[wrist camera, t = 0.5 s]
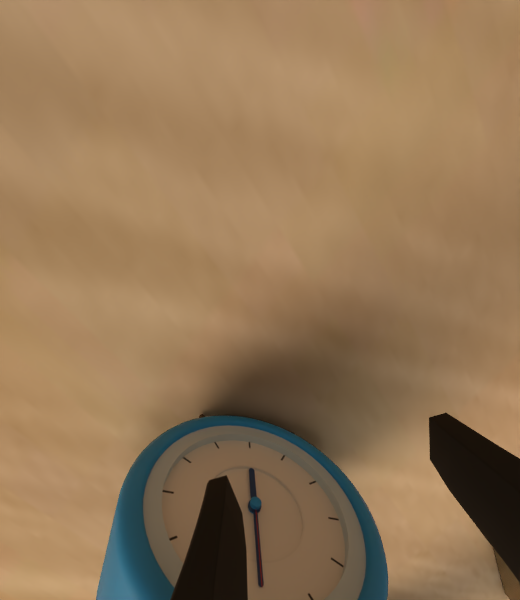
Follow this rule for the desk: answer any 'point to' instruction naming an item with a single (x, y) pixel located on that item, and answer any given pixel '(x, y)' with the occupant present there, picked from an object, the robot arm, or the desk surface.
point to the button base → (508, 579)
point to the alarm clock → (244, 515)
